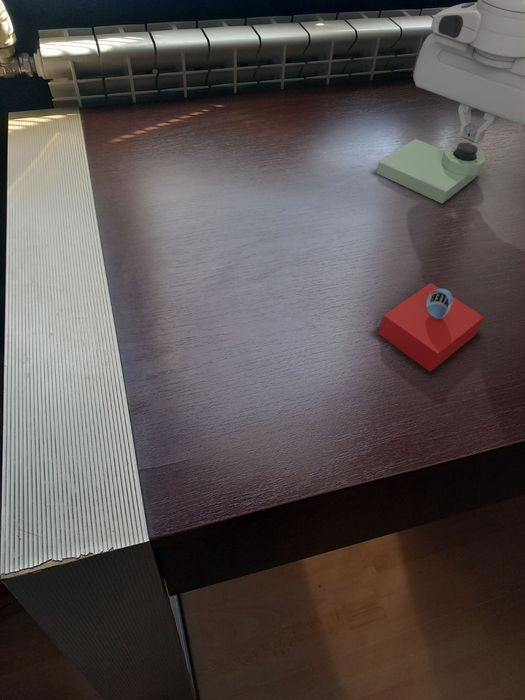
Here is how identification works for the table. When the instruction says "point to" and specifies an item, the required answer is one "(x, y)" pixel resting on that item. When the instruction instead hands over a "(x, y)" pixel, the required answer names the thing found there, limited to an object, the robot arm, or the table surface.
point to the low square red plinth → (430, 326)
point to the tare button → (466, 151)
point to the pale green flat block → (430, 169)
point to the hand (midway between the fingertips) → (469, 138)
